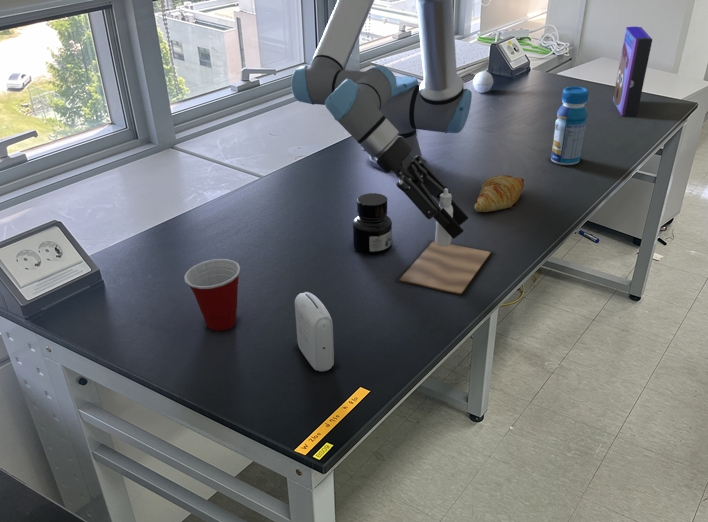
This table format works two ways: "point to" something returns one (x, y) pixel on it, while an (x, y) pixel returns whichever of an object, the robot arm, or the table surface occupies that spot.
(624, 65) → the cereal box
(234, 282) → the plastic cup
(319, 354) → the photo printer
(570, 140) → the beverage bottle
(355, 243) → the ink bottle
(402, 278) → the wooden board
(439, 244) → the eye dropper bottle
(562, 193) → the table surface
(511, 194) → the croissant
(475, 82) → the white ovoid
